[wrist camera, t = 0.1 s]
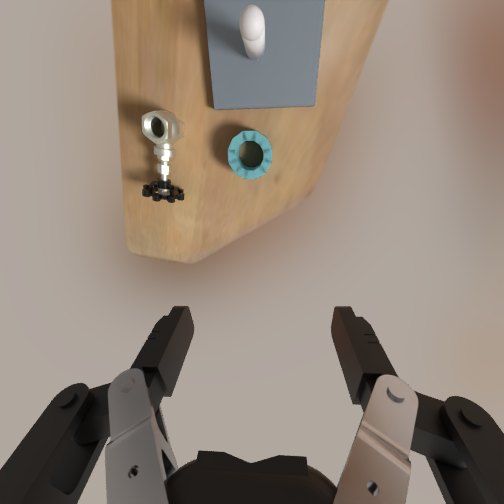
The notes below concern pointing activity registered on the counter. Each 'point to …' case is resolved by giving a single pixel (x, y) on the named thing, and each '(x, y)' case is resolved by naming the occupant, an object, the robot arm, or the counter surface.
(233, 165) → the collar
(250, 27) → the post stand
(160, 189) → the valve
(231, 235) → the counter surface
